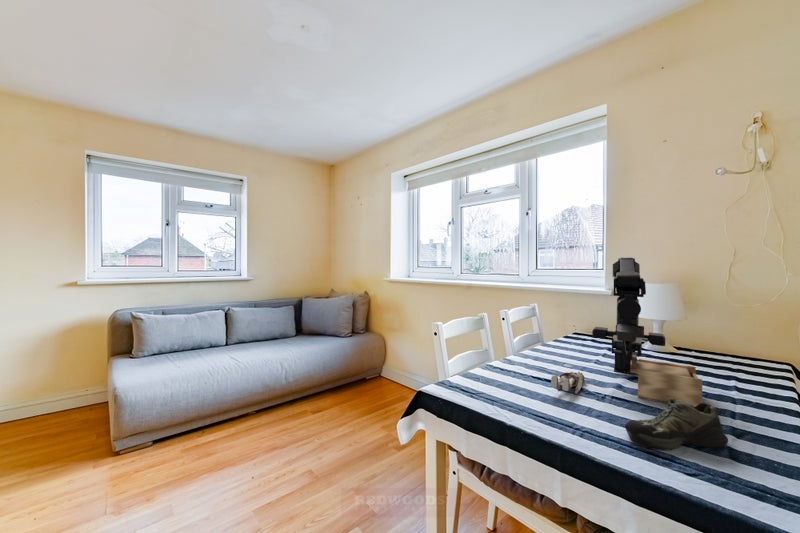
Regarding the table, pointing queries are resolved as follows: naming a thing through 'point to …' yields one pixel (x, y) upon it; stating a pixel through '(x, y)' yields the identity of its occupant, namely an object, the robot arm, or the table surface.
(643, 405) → the table surface
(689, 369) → the box
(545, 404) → the table surface
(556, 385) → the figurine
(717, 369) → the table surface
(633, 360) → the lid
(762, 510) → the table surface
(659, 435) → the hiking shoe
